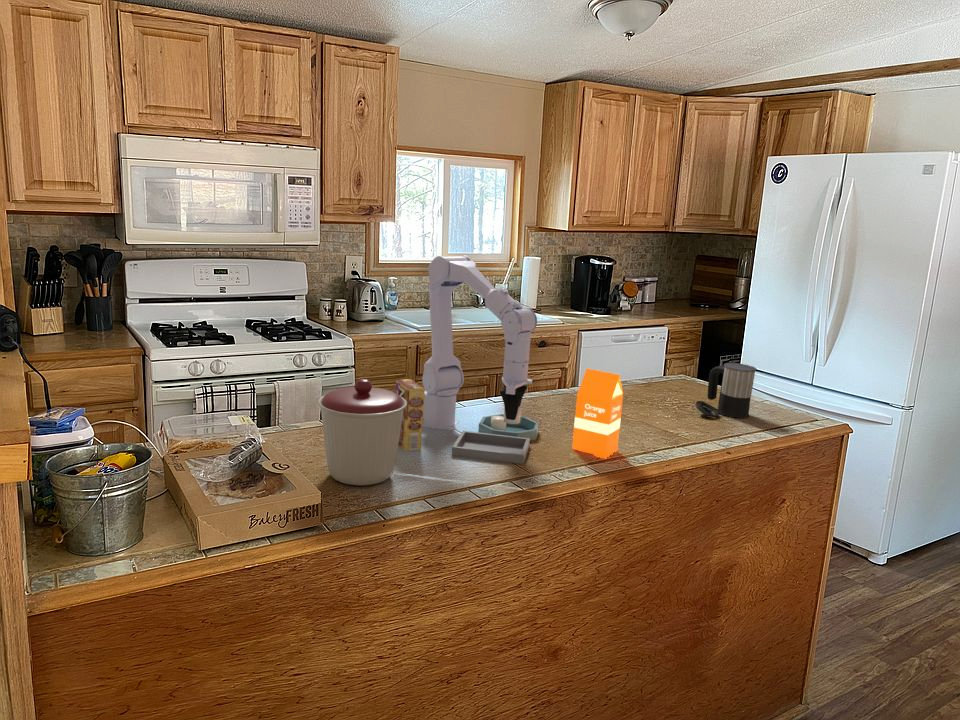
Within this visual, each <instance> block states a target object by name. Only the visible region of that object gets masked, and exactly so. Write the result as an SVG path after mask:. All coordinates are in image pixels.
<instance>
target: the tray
mask: <svg viewBox="0 0 960 720" xmlns="http://www.w3.org/2000/svg"><path fill="white" fill-rule="evenodd" d="M530 442H531V441H530V438H522V437H514V436H505V435H496V434H487V433H478V432H477V431H467V430H462V431H461V433H460V434H459V436H458V438H457V439H456V440H455V442H454V443H453V445H452V446H451V456H453V457H461V458H467V459H468V458H471V459H476V460H477V459H478V460H486V461H494V462H502V463H511V464H520V465H524V463H525V460H526V458H527V455H528V452H529V448H530V444H531V443H530Z"/></svg>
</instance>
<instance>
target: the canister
mask: <svg viewBox="0 0 960 720" xmlns="http://www.w3.org/2000/svg"><path fill="white" fill-rule="evenodd" d="M317 405H318V407H319V408H320V410H321V411H320V412H321V423H322V424H321V425H322V429H323V430H322V432H323V443H324V451H325V459H326V466H327V469H328V470H327V471H328V472H329V474H330V475H331V477H332V478H333V479H334V480H335V481H337V482H339V483H341V484H345V485H348V486H349V485H350V486H351V485H352V486H371V485H375V484H380V483H383V482H384V481H386V480H387V479H388V478H389V477H390V476H391V475H392V473H393V471H394V468H395V465H396V459H397V455H398V449H399V444H398V443H399V437H400V430H401V424H402V417H403V410H404V409H405V408H406V406H407V401H406V400H405V399H404V398H402V397H400V396H399V395H398V394H396V392H395V391H391V390H389V389H386V388H380V387H373V384H372V382H371V381H370V380H368V379H366V378H362V379H361V378H360V379H358V380H356V381H355V383H354V386H350V387H341V388H337V389H334V390H331V391H329V392H327V393H326V394H324V395H322V396H321V397H319V399H318V400H317Z"/></svg>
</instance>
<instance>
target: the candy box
mask: <svg viewBox="0 0 960 720" xmlns="http://www.w3.org/2000/svg"><path fill="white" fill-rule="evenodd" d="M425 391H426V390H425V388H424V386H423V385H420V384H419V383H417V382H416V381H415V380H413V379H410V378H409V379H408V378H407V379H406V378H405V379H396V380H395V393H396V394H398V395H399V396H400V397H402V398H404V399H405V400H406V401H407V406H406V408H405V409H404V410H403V417H402V424H401V430H400V437H399V443H398V446H400V447H401V448H402V449H403V450H404V451H417V450H421V449H422V439H423V438H422V437H423V427H422V424H423V409H424V395H425Z"/></svg>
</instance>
